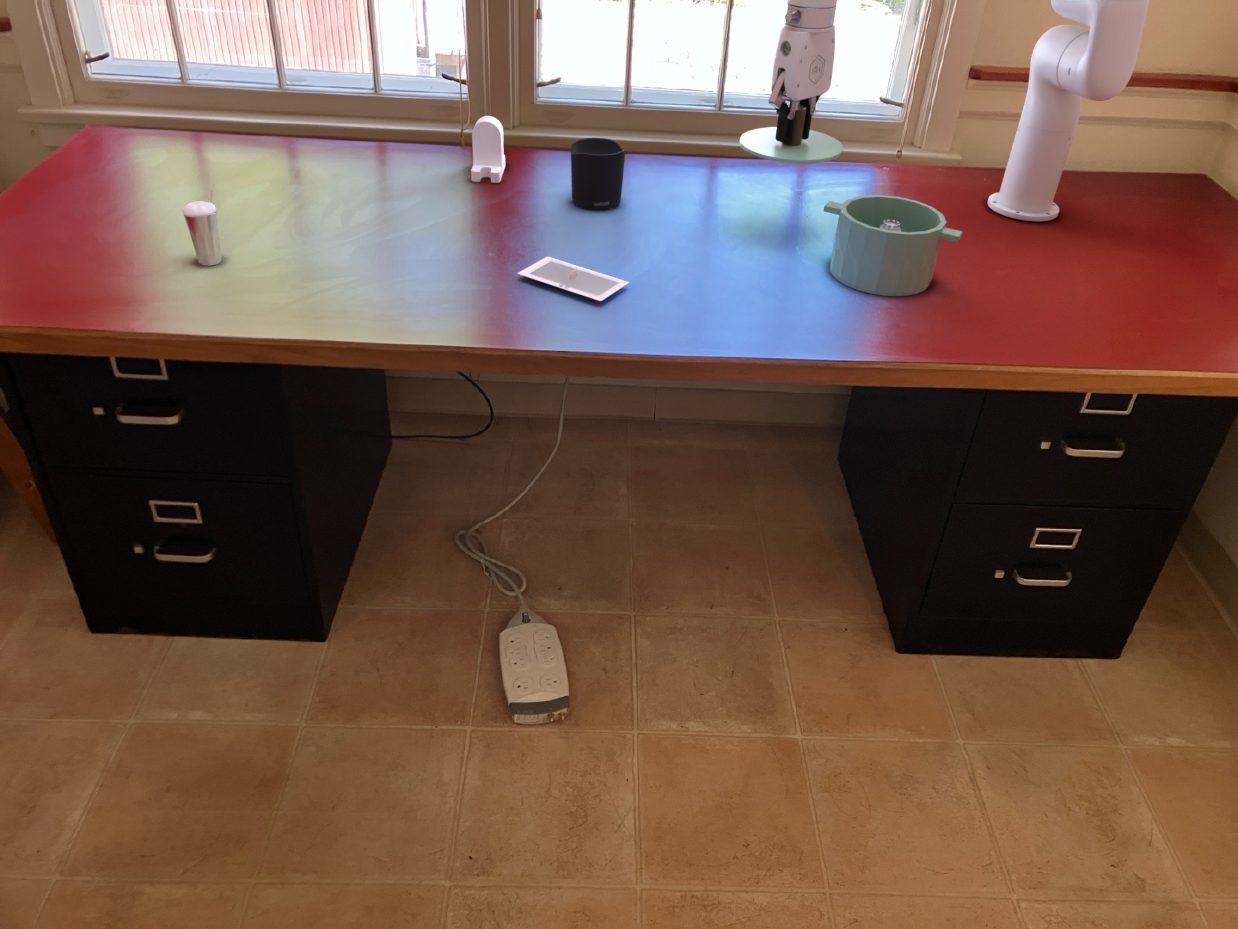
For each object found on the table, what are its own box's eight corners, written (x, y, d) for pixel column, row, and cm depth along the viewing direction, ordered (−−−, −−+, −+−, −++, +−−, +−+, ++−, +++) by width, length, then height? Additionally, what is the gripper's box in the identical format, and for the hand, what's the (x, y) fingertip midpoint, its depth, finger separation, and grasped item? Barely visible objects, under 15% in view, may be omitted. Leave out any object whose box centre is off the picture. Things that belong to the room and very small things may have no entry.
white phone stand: (505, 164, 186) (504, 111, 180) (499, 182, 178) (498, 127, 172) (478, 163, 186) (476, 110, 180) (471, 181, 178) (468, 126, 172)
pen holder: (561, 206, 170) (561, 149, 165) (582, 189, 178) (584, 134, 172) (610, 216, 168) (613, 158, 162) (630, 198, 175) (633, 143, 169)
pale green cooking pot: (832, 242, 163) (843, 184, 157) (957, 273, 155) (973, 213, 149) (800, 275, 152) (810, 213, 146) (933, 310, 144) (949, 246, 138)
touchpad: (547, 262, 151) (547, 249, 150) (629, 288, 145) (629, 275, 144) (516, 280, 145) (516, 266, 144) (600, 308, 139) (601, 294, 138)
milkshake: (236, 256, 147) (223, 192, 142) (213, 269, 143) (199, 204, 137) (211, 251, 149) (197, 187, 143) (187, 264, 144) (172, 199, 139)
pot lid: (762, 127, 166) (767, 86, 162) (855, 145, 160) (863, 103, 156) (722, 154, 154) (726, 110, 150) (821, 174, 148) (829, 129, 144)
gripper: (795, 28, 138) (778, 156, 149) (861, 14, 148) (840, 135, 159) (754, 18, 143) (740, 143, 153) (821, 5, 152) (804, 124, 163)
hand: (791, 138), depth 156 cm, fingers closed on pot lid, 3 cm apart
